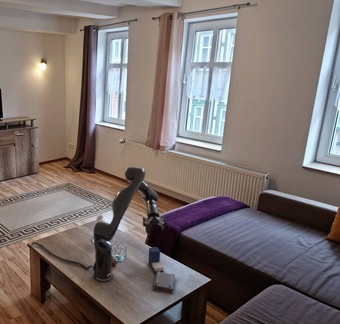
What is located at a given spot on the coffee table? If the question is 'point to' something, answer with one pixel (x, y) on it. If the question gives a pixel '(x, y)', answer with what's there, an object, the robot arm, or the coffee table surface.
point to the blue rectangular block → (155, 260)
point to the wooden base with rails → (164, 282)
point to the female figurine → (99, 218)
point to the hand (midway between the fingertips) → (155, 229)
